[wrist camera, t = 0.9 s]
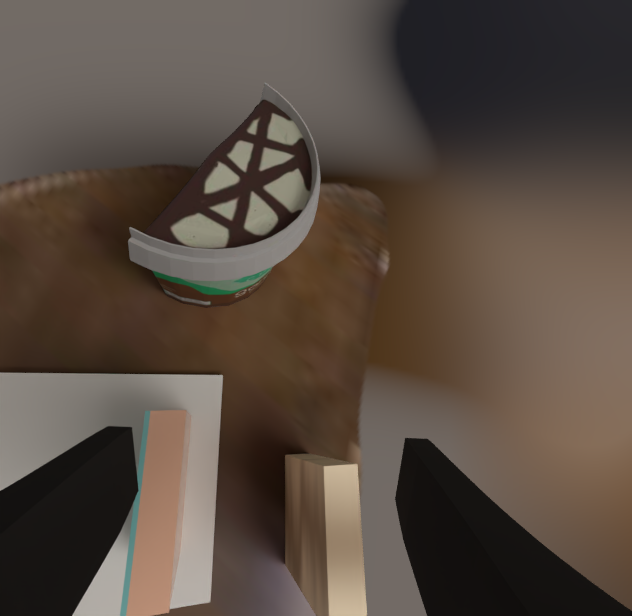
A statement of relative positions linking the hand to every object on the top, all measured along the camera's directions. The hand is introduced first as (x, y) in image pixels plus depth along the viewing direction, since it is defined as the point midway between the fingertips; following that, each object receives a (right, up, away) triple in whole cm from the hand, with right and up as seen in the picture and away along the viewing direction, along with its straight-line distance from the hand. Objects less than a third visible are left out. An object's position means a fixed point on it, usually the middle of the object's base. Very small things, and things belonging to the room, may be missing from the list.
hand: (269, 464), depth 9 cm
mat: (-10, -6, +10) cm, 15 cm away
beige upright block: (0, -8, +12) cm, 15 cm away
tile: (-7, -6, +10) cm, 14 cm away
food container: (-4, +7, +17) cm, 19 cm away
